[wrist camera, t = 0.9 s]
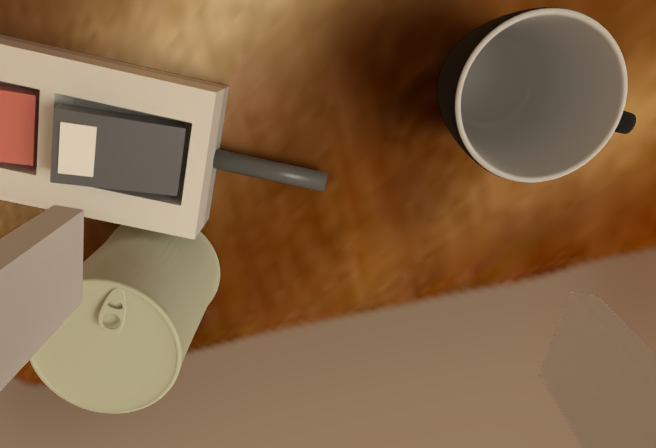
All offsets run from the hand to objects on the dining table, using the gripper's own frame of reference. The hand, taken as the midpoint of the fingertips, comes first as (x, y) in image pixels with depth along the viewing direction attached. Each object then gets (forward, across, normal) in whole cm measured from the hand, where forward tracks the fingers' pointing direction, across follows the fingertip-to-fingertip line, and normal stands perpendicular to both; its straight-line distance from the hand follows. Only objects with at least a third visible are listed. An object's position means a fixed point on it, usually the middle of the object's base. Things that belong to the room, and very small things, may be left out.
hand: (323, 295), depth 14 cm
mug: (+26, +12, +5) cm, 29 cm away
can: (+25, -11, -13) cm, 31 cm away
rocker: (+21, -13, -3) cm, 25 cm away
